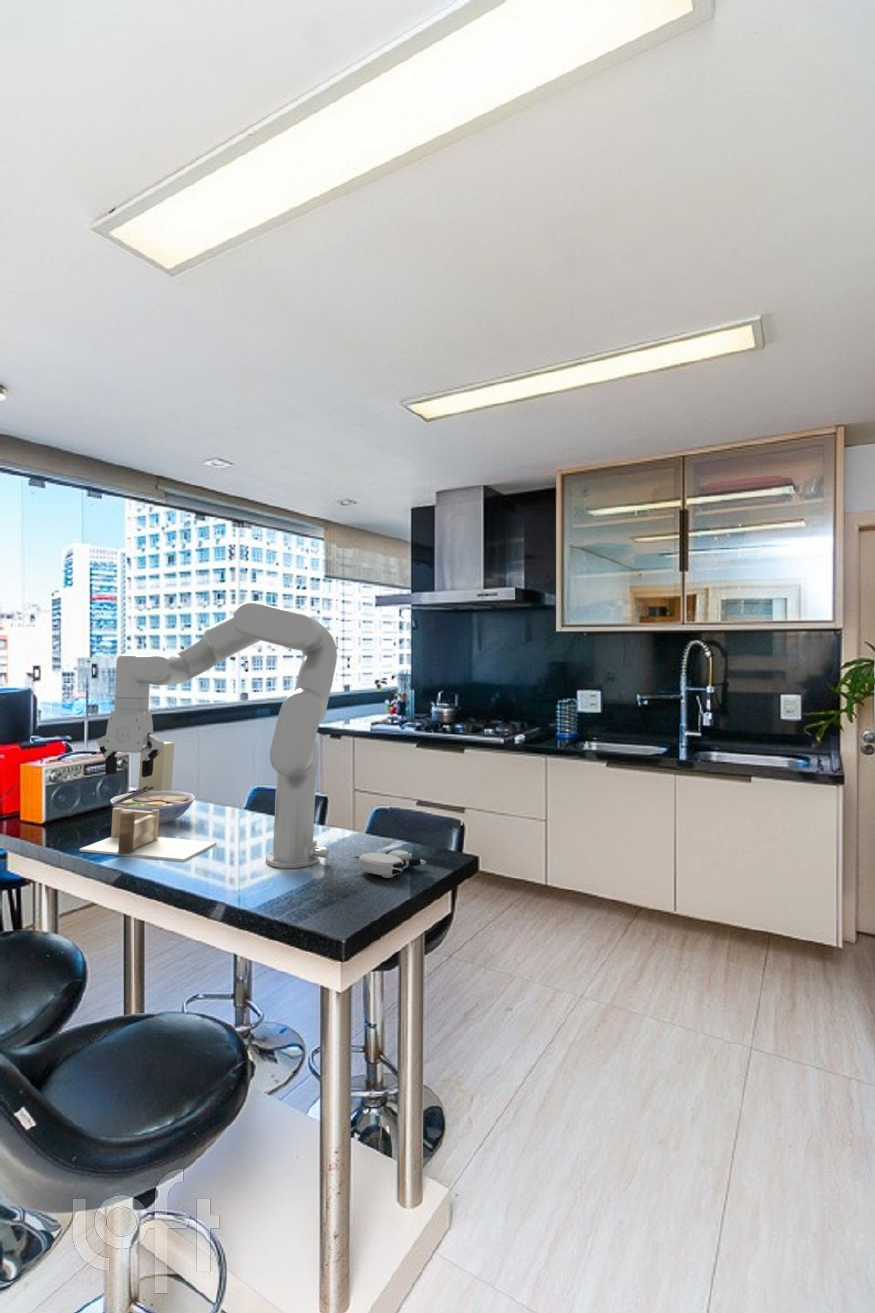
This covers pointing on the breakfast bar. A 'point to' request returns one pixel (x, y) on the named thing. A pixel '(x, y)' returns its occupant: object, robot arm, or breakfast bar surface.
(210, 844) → the layout board with fixed fence
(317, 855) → the robot arm
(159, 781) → the beige tall block
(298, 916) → the breakfast bar surface
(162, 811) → the ramen bowl
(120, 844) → the hinged fence panel
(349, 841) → the breakfast bar surface
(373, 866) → the robot toy
